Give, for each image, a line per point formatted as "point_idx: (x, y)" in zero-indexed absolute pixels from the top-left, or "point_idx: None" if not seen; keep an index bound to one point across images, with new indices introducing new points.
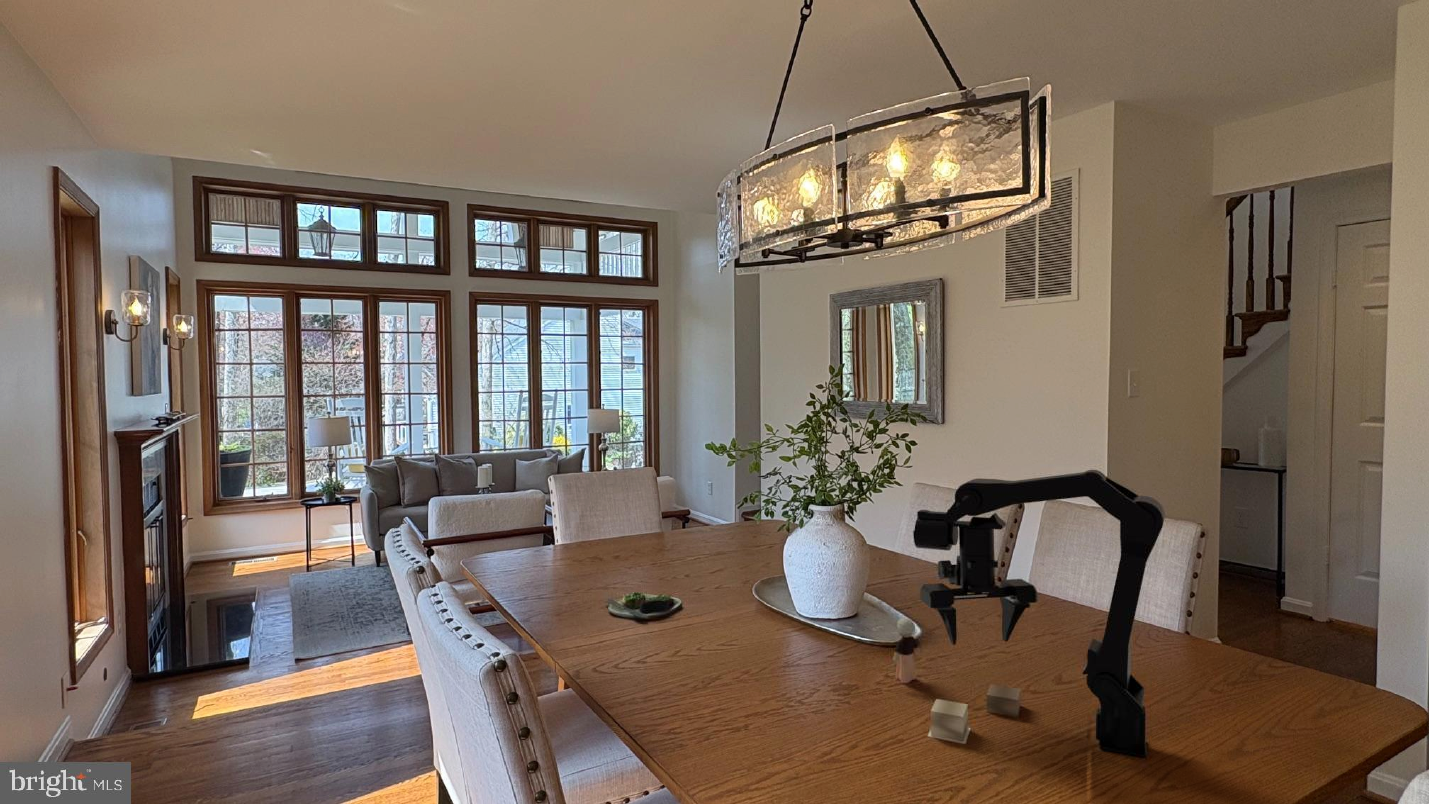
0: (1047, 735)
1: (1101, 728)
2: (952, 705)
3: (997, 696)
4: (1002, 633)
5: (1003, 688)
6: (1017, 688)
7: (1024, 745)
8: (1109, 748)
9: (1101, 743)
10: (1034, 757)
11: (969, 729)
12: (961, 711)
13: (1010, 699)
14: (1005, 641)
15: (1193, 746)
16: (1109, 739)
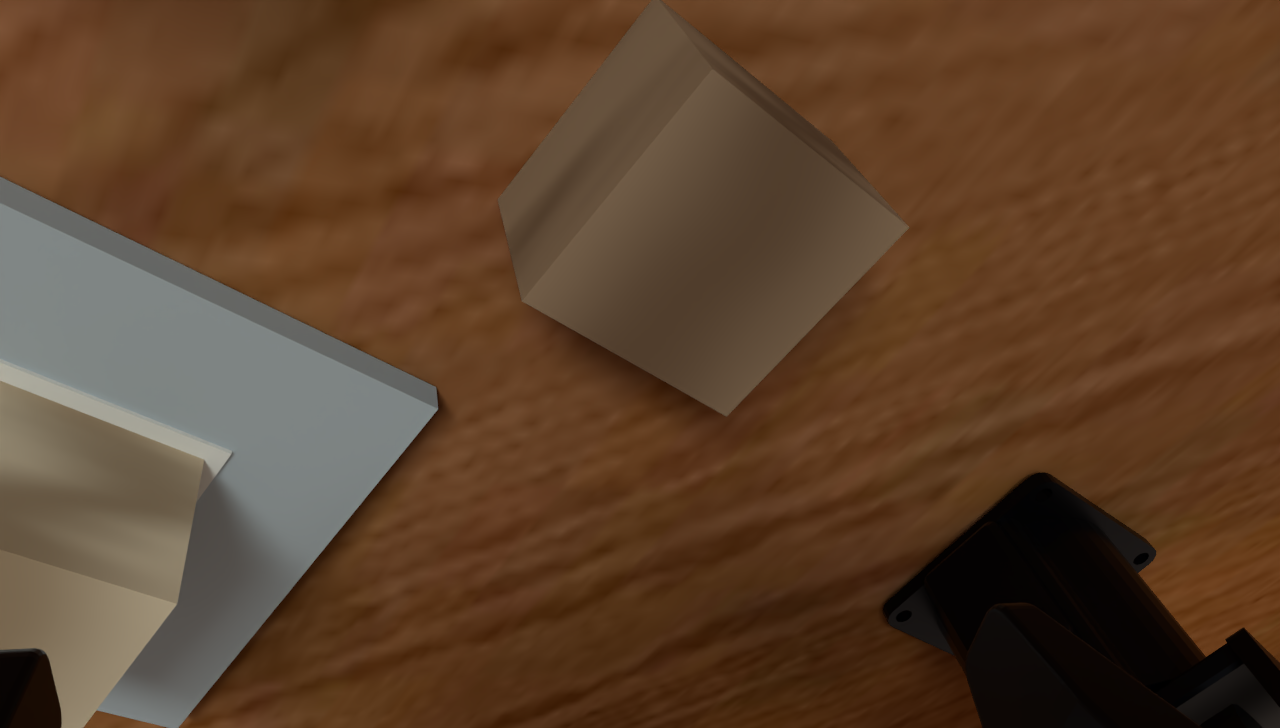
0: (740, 473)
1: (960, 650)
2: (13, 619)
3: (599, 344)
4: (1051, 684)
5: (768, 193)
6: (890, 215)
7: (526, 561)
8: (910, 631)
9: (913, 602)
10: (503, 658)
11: (213, 470)
12: (70, 698)
13: (681, 386)
14: (967, 667)
15: (1273, 583)
16: (950, 635)
